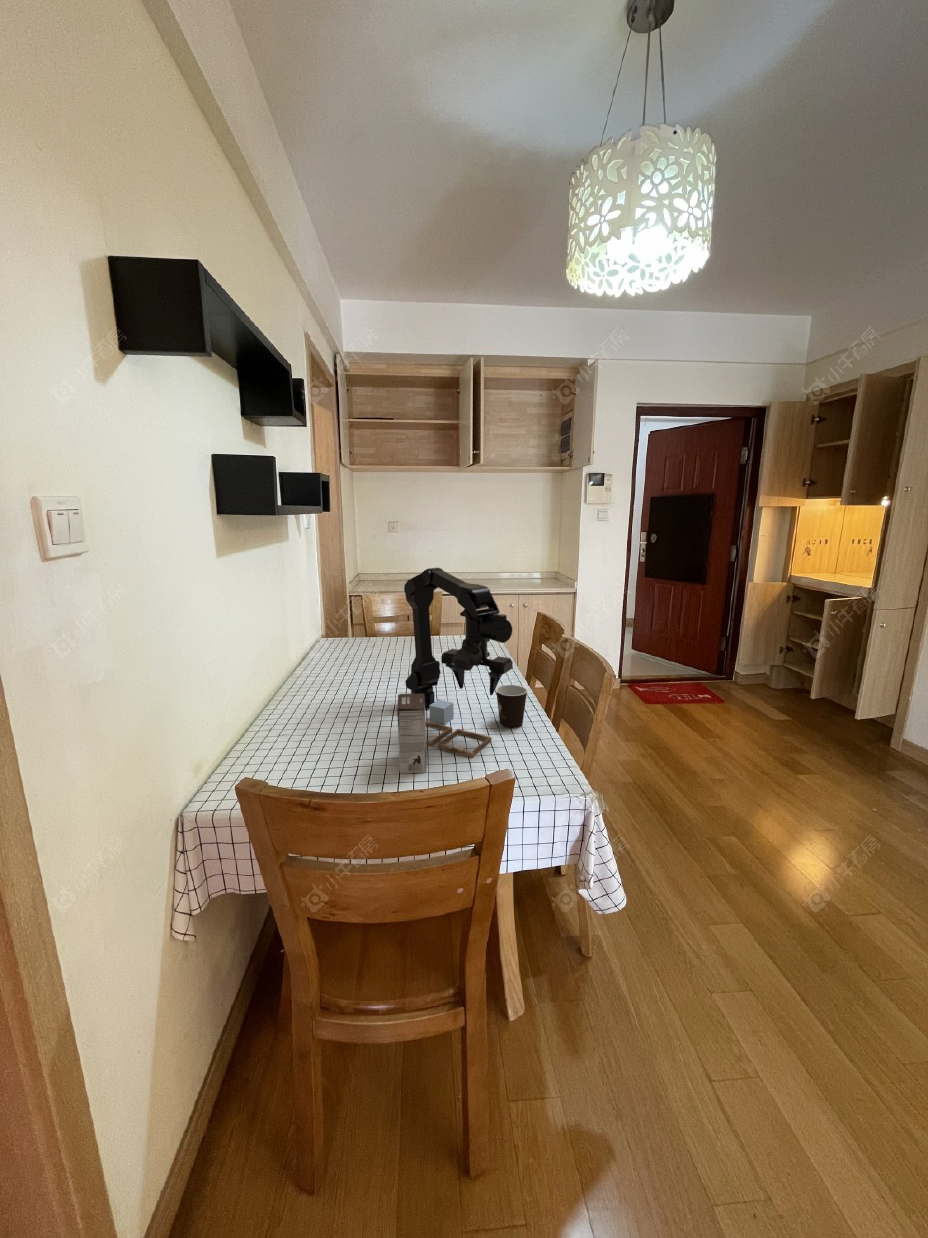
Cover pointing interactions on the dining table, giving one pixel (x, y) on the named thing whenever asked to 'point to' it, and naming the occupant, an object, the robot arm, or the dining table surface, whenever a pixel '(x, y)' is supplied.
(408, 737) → the coffee box
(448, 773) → the dining table surface
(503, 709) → the coffee mug
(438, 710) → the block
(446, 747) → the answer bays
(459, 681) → the robot arm
